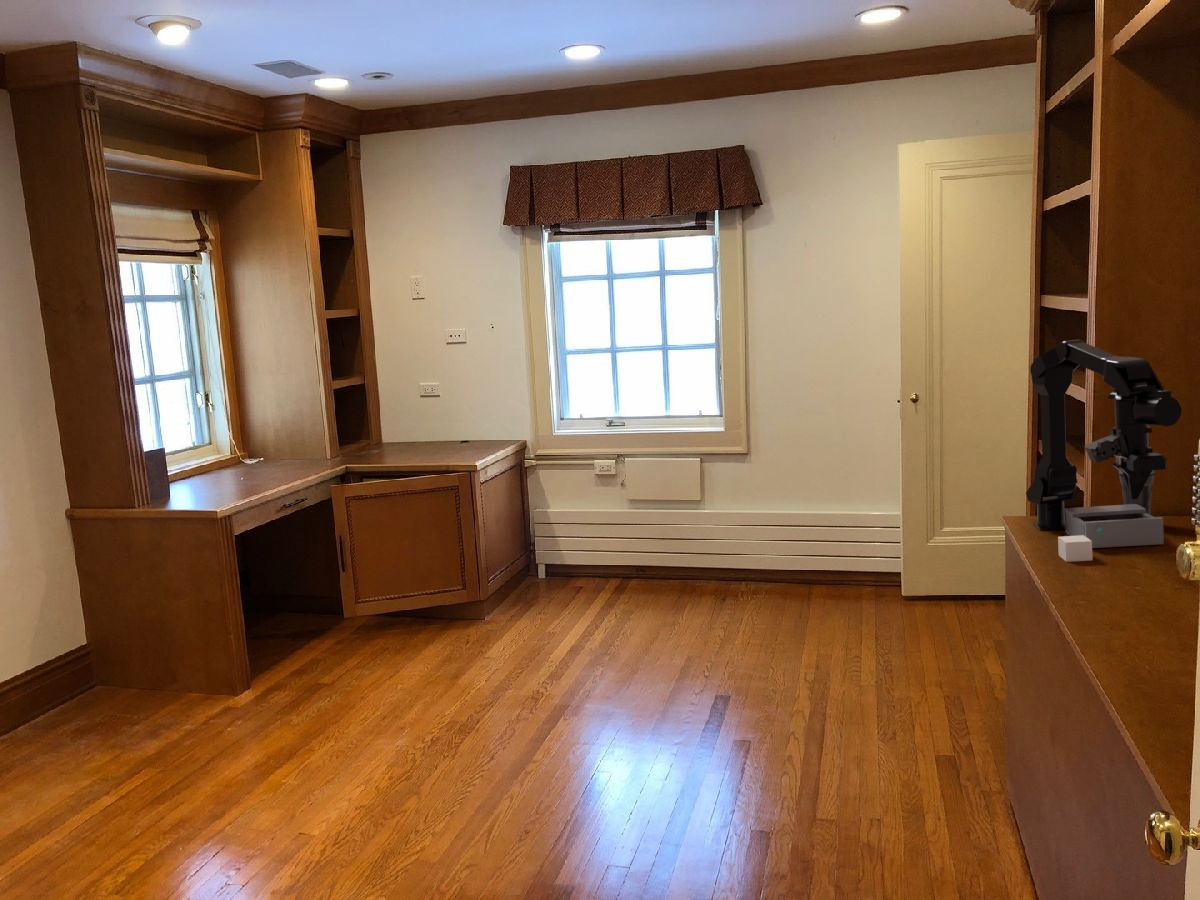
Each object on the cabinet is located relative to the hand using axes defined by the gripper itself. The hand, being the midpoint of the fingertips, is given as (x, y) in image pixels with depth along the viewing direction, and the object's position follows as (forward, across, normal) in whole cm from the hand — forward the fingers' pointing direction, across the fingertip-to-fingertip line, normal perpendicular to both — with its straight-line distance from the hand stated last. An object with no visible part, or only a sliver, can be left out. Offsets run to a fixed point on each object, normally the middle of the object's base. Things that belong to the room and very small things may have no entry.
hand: (1134, 498), depth 198 cm
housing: (+11, -13, 0) cm, 17 cm away
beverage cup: (+11, -25, +9) cm, 29 cm away
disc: (+9, -13, 0) cm, 16 cm away
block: (+11, 0, -12) cm, 16 cm away
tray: (+11, -12, 0) cm, 16 cm away
